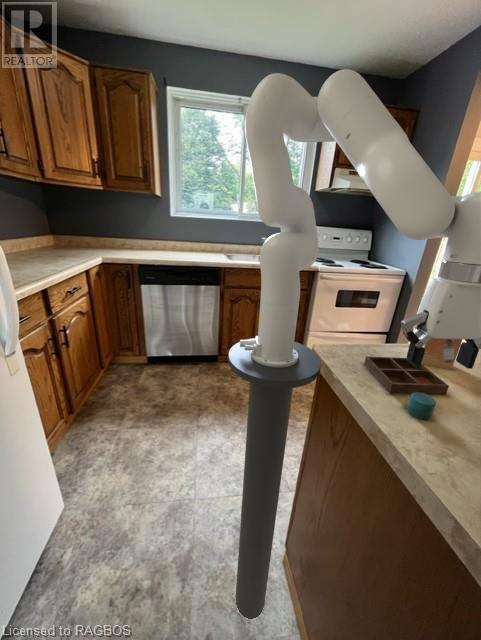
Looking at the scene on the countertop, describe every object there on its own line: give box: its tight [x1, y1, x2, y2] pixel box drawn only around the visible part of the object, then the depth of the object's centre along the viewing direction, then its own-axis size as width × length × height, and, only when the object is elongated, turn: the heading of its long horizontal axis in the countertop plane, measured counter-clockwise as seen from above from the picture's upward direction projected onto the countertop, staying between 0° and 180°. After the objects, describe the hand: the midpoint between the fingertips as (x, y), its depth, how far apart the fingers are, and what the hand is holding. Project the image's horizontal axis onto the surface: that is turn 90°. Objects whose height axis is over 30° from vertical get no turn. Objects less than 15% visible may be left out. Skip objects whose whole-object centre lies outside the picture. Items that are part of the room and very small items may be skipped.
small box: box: [419, 334, 464, 370], centre depth 74 cm, size 8×6×10 cm
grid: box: [363, 356, 450, 396], centre depth 67 cm, size 13×13×2 cm
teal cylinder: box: [406, 392, 437, 421], centre depth 54 cm, size 4×4×4 cm
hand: (438, 364), depth 51 cm, fingers open, 9 cm apart
